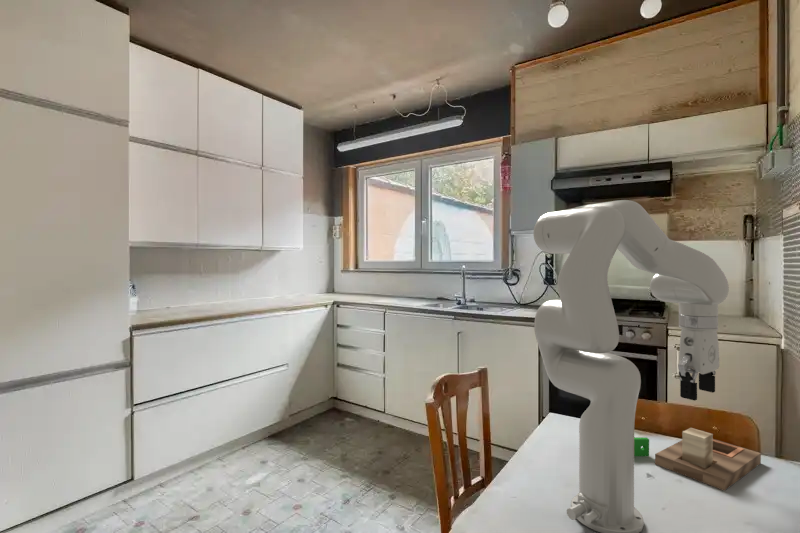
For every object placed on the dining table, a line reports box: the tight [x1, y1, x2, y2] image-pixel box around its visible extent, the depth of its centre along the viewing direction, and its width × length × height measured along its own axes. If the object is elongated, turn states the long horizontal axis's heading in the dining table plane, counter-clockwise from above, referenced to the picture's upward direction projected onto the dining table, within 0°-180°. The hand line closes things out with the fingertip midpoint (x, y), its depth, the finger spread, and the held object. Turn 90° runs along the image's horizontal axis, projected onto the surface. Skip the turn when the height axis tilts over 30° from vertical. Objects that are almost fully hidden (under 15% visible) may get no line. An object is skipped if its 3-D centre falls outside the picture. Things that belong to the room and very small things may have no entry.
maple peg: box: [681, 427, 714, 469], centre depth 97 cm, size 4×4×9 cm
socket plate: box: [654, 438, 762, 491], centre depth 101 cm, size 22×14×3 cm, turn 123°
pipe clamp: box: [634, 436, 650, 457], centre depth 106 cm, size 11×4×5 cm, turn 89°
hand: (698, 394), depth 97 cm, fingers open, 9 cm apart
